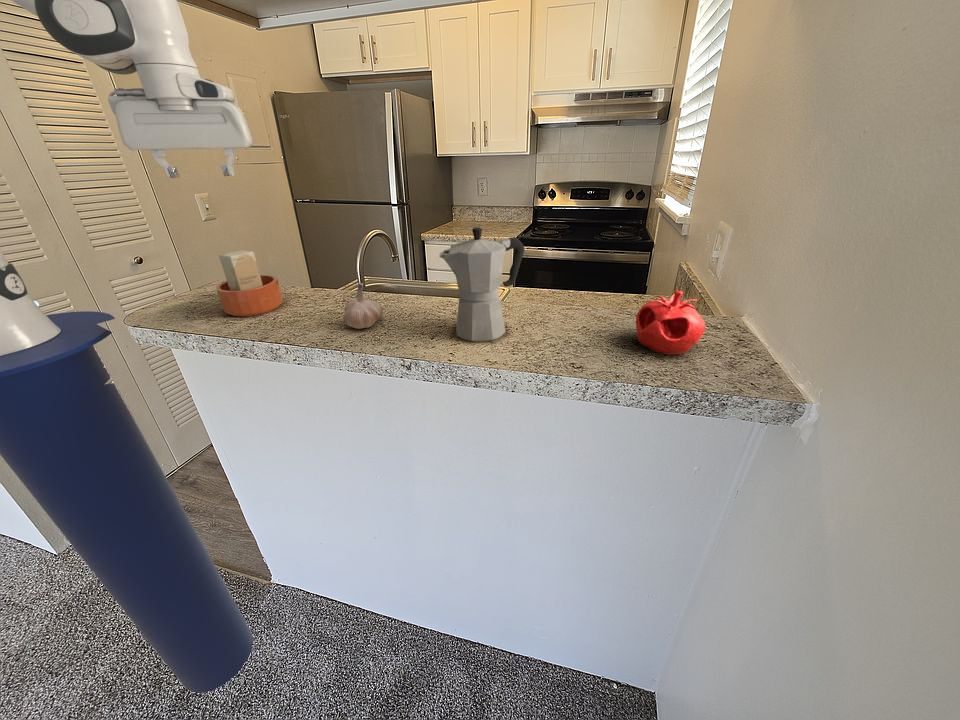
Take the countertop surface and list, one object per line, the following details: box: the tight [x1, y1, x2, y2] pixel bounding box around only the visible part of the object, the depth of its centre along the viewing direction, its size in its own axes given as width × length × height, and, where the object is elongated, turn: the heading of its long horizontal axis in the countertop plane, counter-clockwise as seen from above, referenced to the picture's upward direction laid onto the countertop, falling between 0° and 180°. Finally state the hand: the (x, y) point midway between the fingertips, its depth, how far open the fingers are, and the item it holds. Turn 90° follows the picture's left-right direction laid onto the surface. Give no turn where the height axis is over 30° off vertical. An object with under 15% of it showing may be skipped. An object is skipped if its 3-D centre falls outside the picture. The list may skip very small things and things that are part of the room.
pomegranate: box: [635, 290, 706, 355], centre depth 63 cm, size 10×10×9 cm
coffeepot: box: [438, 226, 525, 343], centre depth 68 cm, size 15×9×18 cm, turn 117°
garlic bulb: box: [343, 282, 384, 330], centre depth 75 cm, size 8×7×8 cm
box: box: [218, 249, 263, 291], centre depth 84 cm, size 5×4×11 cm
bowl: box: [215, 274, 284, 317], centre depth 85 cm, size 11×11×6 cm
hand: (202, 176), depth 76 cm, fingers open, 8 cm apart
